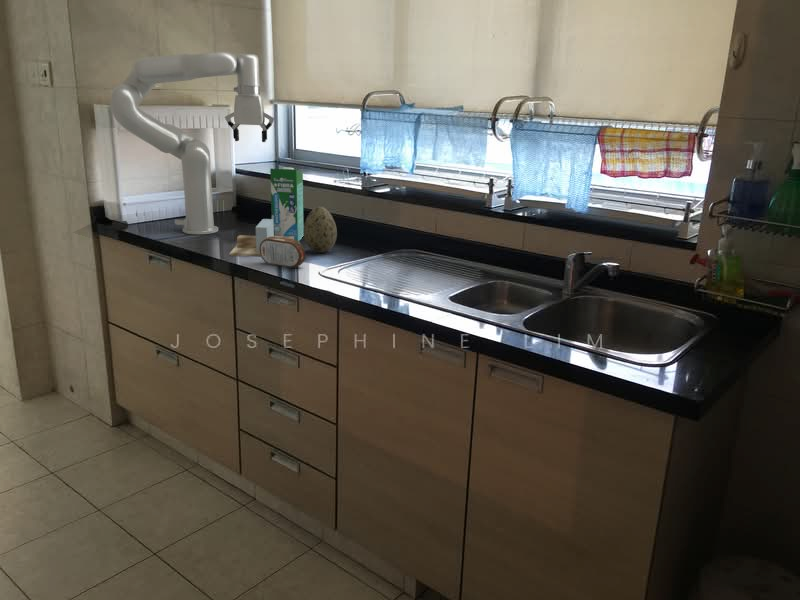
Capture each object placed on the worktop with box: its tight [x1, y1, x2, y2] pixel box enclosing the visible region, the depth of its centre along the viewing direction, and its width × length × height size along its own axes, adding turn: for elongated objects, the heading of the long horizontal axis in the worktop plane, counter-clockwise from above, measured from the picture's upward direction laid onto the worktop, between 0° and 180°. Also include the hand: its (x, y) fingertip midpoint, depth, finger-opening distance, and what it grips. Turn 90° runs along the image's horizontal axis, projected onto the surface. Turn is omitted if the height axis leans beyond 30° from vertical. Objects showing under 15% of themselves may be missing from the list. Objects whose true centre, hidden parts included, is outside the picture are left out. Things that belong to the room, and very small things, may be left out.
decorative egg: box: [303, 205, 338, 254], centre depth 221 cm, size 11×11×15 cm
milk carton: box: [269, 166, 304, 242], centre depth 237 cm, size 9×9×25 cm
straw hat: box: [229, 234, 301, 257], centre depth 224 cm, size 20×18×4 cm
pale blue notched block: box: [255, 218, 274, 252], centre depth 223 cm, size 14×4×8 cm, turn 2°
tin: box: [259, 237, 306, 269], centre depth 205 cm, size 15×3×8 cm, turn 65°
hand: (250, 141), depth 244 cm, fingers open, 9 cm apart
